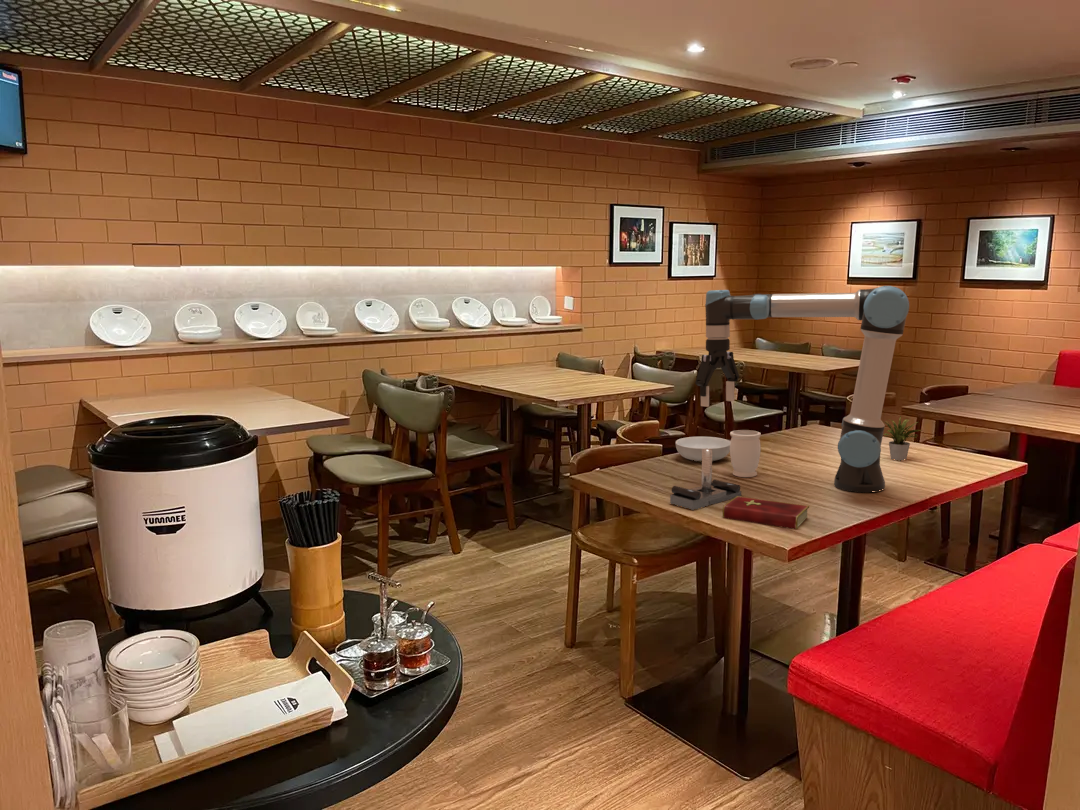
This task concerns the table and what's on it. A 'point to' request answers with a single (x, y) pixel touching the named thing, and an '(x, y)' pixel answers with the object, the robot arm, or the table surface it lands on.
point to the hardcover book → (765, 512)
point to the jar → (745, 452)
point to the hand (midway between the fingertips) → (717, 403)
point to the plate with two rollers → (704, 495)
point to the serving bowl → (702, 447)
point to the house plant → (900, 439)
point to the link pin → (706, 470)
